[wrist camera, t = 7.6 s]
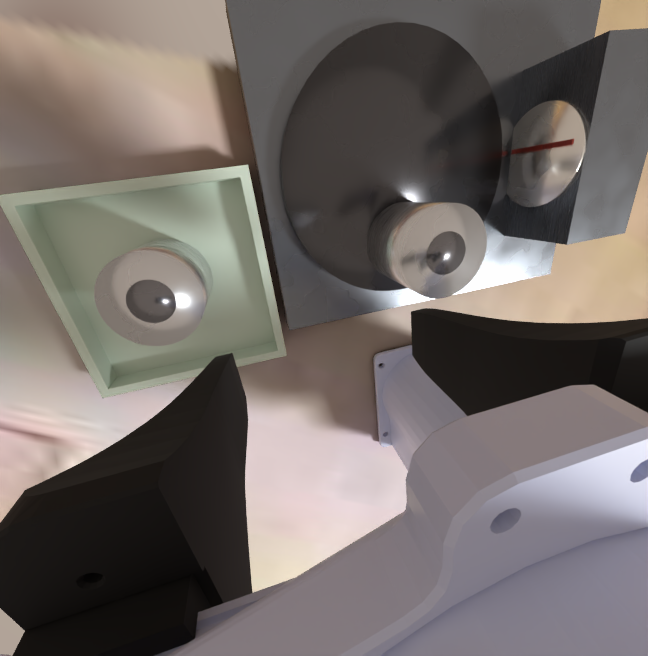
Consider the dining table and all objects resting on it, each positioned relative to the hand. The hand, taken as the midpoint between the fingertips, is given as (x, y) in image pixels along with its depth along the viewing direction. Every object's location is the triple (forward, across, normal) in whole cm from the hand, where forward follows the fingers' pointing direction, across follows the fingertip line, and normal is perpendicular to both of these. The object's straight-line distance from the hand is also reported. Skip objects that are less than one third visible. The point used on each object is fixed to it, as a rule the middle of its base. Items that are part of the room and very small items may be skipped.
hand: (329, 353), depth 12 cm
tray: (+9, +7, -2) cm, 12 cm away
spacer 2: (+7, -7, -2) cm, 10 cm away
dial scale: (+9, -9, -6) cm, 14 cm away
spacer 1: (+9, +7, -2) cm, 11 cm away
